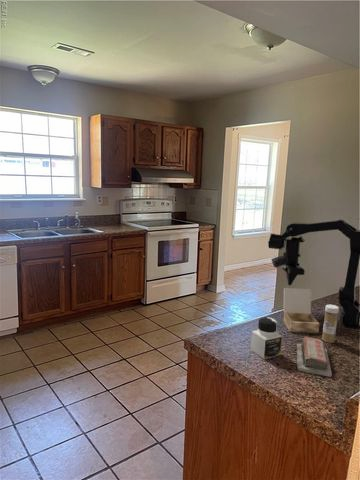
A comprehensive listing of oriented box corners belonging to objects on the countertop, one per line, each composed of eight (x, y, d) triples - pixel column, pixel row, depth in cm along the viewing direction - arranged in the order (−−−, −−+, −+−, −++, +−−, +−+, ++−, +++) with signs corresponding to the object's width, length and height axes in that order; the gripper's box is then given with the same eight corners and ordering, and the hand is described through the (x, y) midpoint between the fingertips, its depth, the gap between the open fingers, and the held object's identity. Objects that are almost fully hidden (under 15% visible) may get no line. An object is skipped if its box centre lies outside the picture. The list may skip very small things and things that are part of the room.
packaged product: (297, 334, 123) (327, 338, 120) (296, 346, 124) (326, 351, 121) (298, 357, 106) (333, 364, 103) (297, 372, 107) (331, 378, 104)
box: (309, 322, 144) (310, 313, 144) (318, 333, 134) (319, 323, 134) (283, 321, 145) (284, 312, 144) (290, 331, 135) (291, 322, 134)
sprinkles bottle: (319, 340, 128) (323, 306, 126) (323, 336, 132) (327, 303, 129) (332, 344, 125) (337, 309, 123) (336, 340, 129) (340, 306, 126)
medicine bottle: (264, 359, 113) (267, 325, 110) (250, 350, 119) (252, 317, 117) (280, 355, 116) (283, 321, 114) (266, 346, 122) (268, 314, 120)
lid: (310, 313, 144) (310, 313, 144) (311, 289, 145) (310, 289, 145) (283, 312, 144) (283, 312, 145) (284, 287, 145) (283, 287, 145)
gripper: (269, 246, 161) (266, 278, 164) (279, 254, 143) (276, 290, 145) (292, 247, 161) (290, 279, 164) (306, 255, 143) (303, 291, 145)
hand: (289, 285), depth 154 cm, fingers closed
